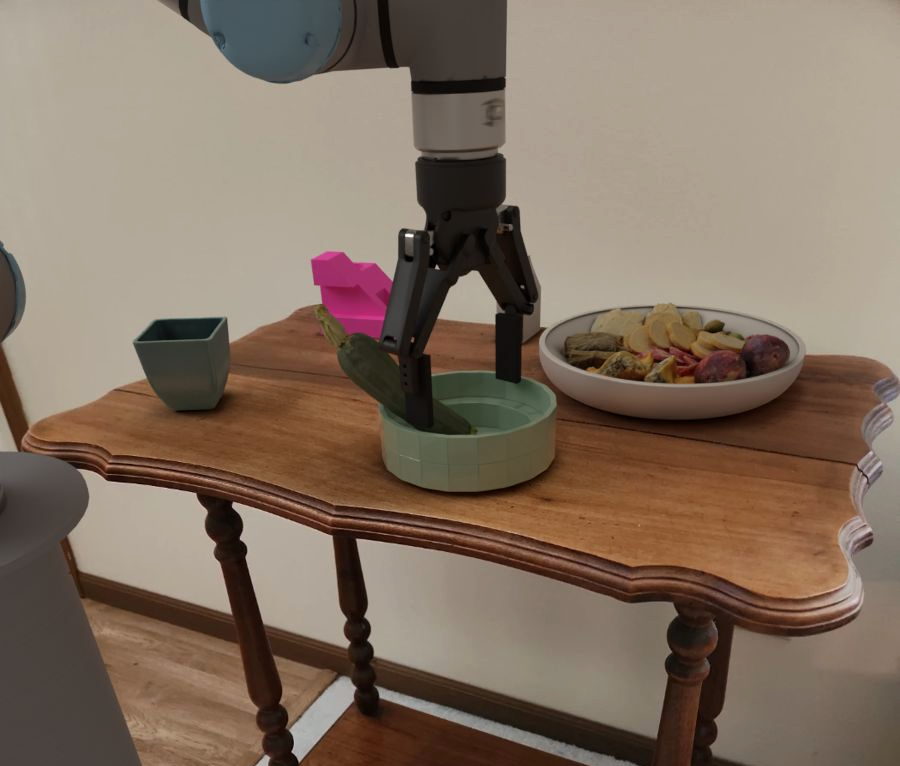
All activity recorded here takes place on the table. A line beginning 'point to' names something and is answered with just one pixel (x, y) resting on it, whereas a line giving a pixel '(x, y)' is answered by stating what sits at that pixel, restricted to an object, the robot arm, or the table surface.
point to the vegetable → (382, 375)
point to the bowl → (671, 360)
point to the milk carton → (533, 321)
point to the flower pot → (186, 360)
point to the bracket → (352, 292)
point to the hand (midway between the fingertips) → (466, 401)
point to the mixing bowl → (475, 456)
